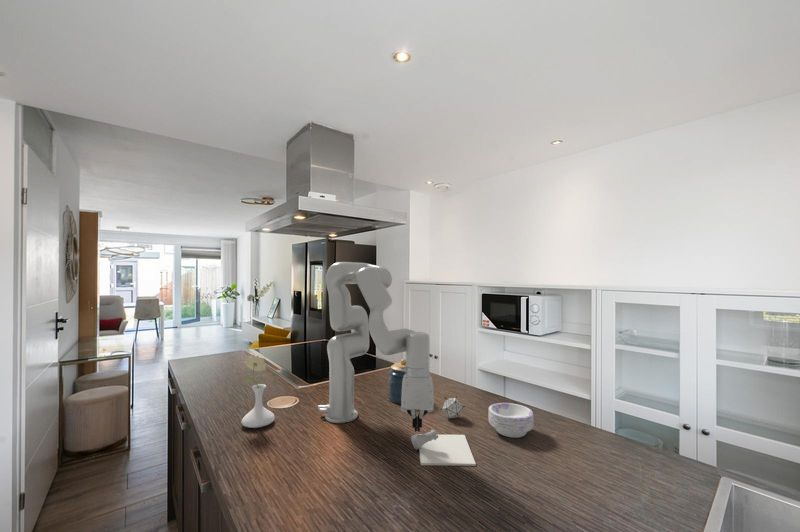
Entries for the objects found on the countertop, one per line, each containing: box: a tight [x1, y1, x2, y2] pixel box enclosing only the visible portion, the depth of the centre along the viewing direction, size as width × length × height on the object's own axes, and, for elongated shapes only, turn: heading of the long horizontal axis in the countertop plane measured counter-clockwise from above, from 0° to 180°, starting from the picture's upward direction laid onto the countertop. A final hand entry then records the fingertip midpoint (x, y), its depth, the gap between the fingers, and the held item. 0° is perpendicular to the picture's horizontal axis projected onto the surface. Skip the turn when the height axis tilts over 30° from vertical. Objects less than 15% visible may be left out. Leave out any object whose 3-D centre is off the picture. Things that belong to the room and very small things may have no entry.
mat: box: [417, 433, 477, 467], centre depth 110 cm, size 16×18×1 cm
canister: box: [388, 358, 406, 404], centre depth 154 cm, size 13×13×18 cm
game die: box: [439, 395, 466, 421], centre depth 134 cm, size 9×8×10 cm
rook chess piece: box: [410, 429, 438, 451], centre depth 109 cm, size 4×4×8 cm
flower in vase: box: [241, 354, 276, 429], centre depth 127 cm, size 13×11×25 cm
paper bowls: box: [488, 402, 534, 439], centre depth 122 cm, size 15×15×8 cm
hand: (417, 429), depth 110 cm, fingers closed
